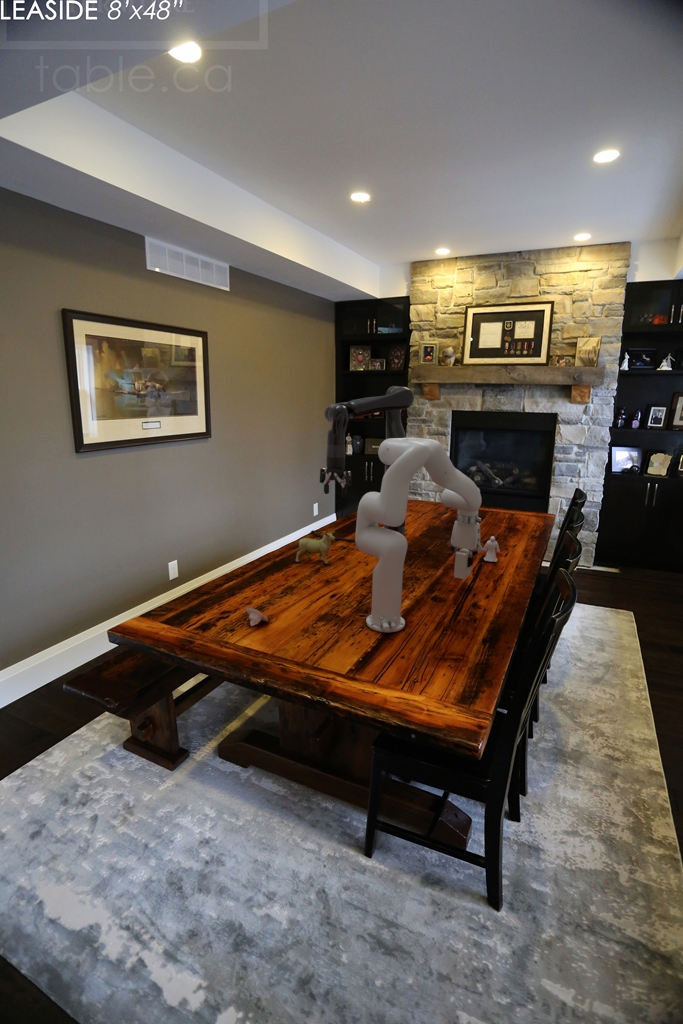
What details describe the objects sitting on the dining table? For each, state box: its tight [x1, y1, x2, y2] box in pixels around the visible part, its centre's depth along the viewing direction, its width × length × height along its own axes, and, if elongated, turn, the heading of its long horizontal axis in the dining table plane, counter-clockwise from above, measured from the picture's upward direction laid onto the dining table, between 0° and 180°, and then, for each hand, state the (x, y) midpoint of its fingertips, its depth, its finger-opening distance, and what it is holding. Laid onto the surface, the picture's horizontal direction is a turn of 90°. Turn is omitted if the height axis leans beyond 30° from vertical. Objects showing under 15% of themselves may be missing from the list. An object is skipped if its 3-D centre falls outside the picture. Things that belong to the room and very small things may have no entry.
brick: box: [453, 548, 473, 580], centre depth 192 cm, size 4×7×10 cm, turn 146°
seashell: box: [245, 607, 269, 627], centre depth 160 cm, size 8×5×8 cm
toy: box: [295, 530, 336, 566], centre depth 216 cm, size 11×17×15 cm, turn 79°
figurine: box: [482, 535, 501, 563], centre depth 223 cm, size 8×8×12 cm
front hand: (463, 564), depth 192 cm, fingers closed on brick, 4 cm apart
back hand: (335, 495), depth 204 cm, fingers open, 8 cm apart
